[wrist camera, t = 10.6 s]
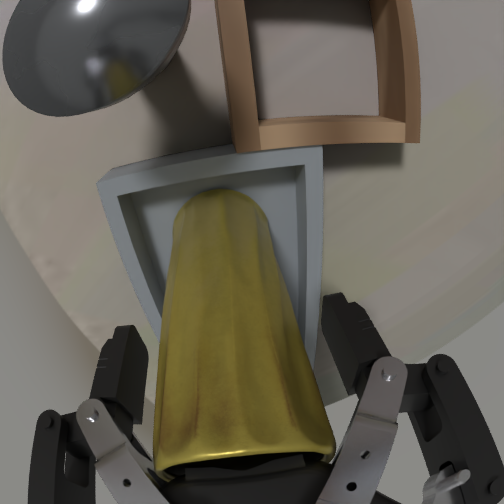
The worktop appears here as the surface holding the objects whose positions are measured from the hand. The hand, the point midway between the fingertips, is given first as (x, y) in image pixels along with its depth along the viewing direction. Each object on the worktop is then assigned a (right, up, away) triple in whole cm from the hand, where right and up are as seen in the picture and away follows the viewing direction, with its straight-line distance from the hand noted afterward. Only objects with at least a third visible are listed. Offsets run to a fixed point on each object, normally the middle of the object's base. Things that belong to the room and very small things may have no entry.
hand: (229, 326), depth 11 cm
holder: (+5, +15, +2) cm, 16 cm away
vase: (-1, +4, +7) cm, 8 cm away
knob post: (-5, +14, +1) cm, 15 cm away
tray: (-1, 0, +10) cm, 10 cm away
